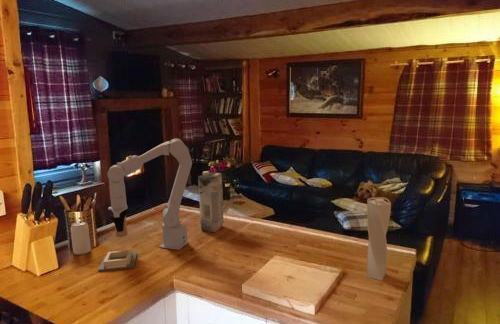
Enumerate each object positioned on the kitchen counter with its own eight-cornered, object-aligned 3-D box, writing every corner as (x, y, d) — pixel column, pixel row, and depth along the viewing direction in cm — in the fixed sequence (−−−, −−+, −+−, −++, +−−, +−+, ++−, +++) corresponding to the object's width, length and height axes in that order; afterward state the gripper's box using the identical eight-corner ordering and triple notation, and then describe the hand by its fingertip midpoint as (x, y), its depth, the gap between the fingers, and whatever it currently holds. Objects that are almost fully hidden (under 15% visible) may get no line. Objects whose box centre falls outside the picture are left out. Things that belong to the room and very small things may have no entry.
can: (84, 255, 144) (80, 226, 142) (69, 254, 146) (66, 225, 143) (94, 249, 150) (91, 221, 148) (80, 248, 152) (77, 220, 150)
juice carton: (225, 225, 174) (223, 169, 169) (216, 233, 164) (213, 174, 159) (208, 223, 177) (205, 168, 172) (198, 231, 167) (195, 173, 162)
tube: (130, 233, 148) (128, 214, 146) (122, 237, 143) (120, 218, 142) (120, 232, 149) (119, 213, 148) (113, 236, 145) (111, 217, 143)
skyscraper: (384, 283, 117) (388, 199, 112) (361, 278, 121) (364, 196, 116) (390, 273, 124) (393, 193, 119) (367, 268, 128) (370, 190, 123)
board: (137, 254, 144) (136, 247, 144) (133, 268, 133) (132, 260, 132) (105, 257, 142) (104, 250, 142) (98, 271, 131) (97, 264, 130)
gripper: (110, 192, 150) (113, 223, 152) (103, 201, 136) (107, 236, 138) (128, 190, 151) (131, 222, 153) (123, 200, 137) (126, 235, 139)
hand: (121, 229), depth 146 cm, fingers closed on tube, 4 cm apart
